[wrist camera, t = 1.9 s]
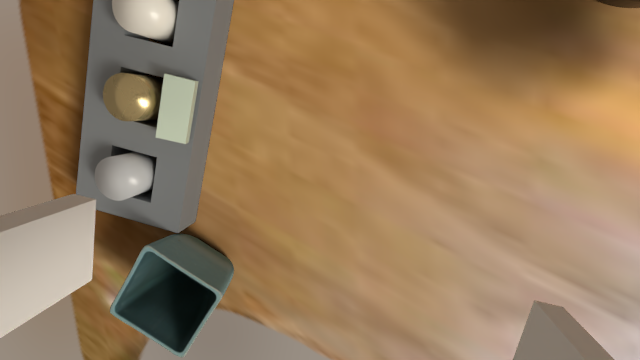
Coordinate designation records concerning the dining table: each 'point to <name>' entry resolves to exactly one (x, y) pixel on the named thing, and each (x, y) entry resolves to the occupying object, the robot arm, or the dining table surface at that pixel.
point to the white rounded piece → (148, 17)
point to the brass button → (133, 96)
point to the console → (140, 136)
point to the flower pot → (173, 290)
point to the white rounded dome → (125, 175)
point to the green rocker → (176, 108)
